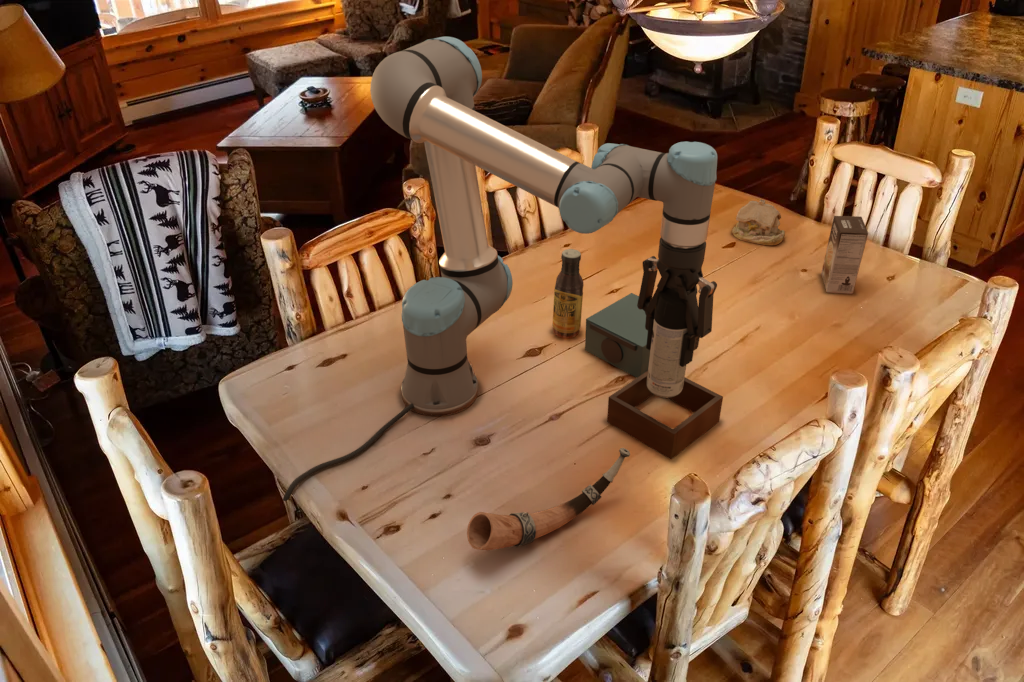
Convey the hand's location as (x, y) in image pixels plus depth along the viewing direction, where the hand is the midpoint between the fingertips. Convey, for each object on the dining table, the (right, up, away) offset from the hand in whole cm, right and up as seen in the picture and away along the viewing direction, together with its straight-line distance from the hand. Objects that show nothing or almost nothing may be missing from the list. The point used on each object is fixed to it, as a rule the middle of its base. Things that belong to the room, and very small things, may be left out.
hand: (668, 354), depth 144 cm
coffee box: (+50, +16, +50) cm, 73 cm away
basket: (+1, -13, +8) cm, 16 cm away
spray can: (0, -6, +4) cm, 8 cm away
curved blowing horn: (-21, -28, -13) cm, 37 cm away
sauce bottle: (-16, +4, +35) cm, 39 cm away
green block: (-2, 0, +28) cm, 29 cm away
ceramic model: (+38, +31, +73) cm, 88 cm away
